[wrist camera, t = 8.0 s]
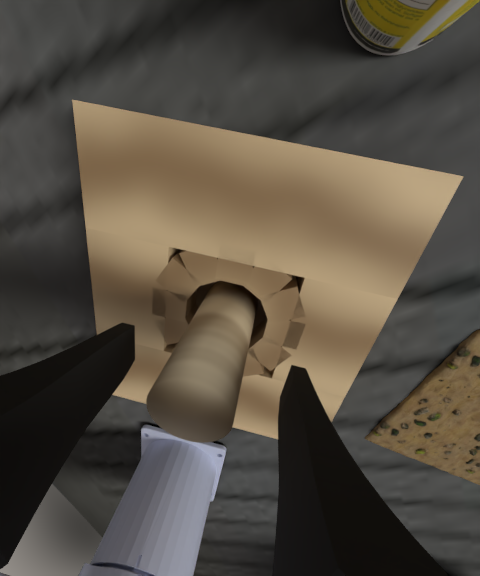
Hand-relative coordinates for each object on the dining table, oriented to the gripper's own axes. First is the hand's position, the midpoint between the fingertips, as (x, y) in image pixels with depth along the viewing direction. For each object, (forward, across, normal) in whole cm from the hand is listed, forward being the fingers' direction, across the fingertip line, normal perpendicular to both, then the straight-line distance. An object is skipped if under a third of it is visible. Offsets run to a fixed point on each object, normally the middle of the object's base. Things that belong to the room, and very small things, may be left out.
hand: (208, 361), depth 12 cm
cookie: (+6, -19, +5) cm, 21 cm away
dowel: (+5, 0, 0) cm, 5 cm away
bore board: (+6, 0, 0) cm, 6 cm away
